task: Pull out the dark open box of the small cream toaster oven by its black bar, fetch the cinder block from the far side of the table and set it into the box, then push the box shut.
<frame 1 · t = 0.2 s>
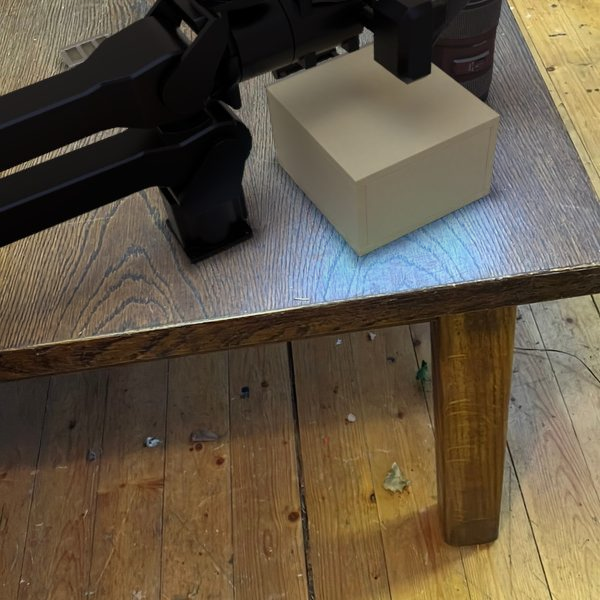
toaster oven: (379, 177, 71), on the table
food container: (408, 49, 85), on the table
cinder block: (94, 62, 89), on the table
camera lens: (449, 109, 77), on the table
dark open box: (350, 114, 70), point 4 cm above the table, slide at 0.5 cm
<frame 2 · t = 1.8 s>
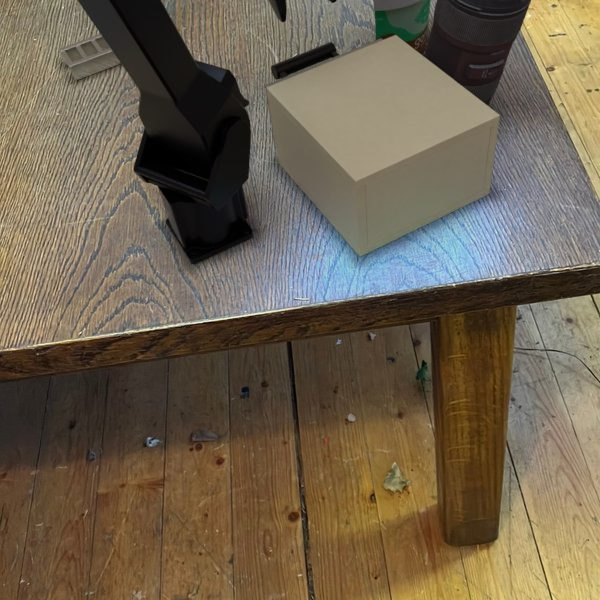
hand: (306, 10, 69), 12 cm above the table, tool pointing down, fingers open, 5 cm apart
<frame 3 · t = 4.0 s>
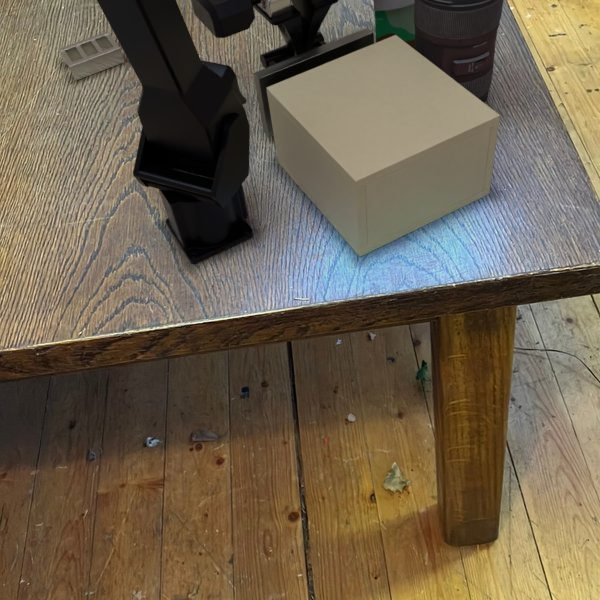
hand: (300, 60, 76), 5 cm above the table, tool pointing down, fingers closed, pressing on dark open box
dark open box: (337, 102, 72), point 4 cm above the table, slide at 3.0 cm, touching gripper
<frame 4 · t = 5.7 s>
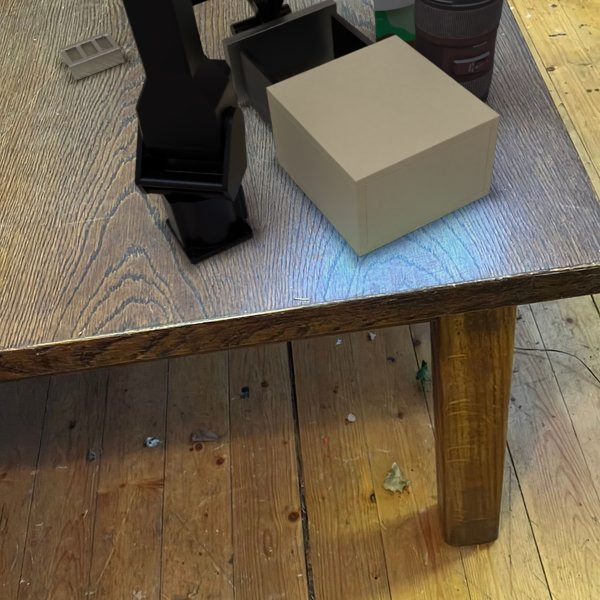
hand: (268, 30, 80), 5 cm above the table, tool pointing down, fingers closed
dark open box: (301, 68, 76), point 4 cm above the table, slide at 10.4 cm, touching gripper
everything else where it was.
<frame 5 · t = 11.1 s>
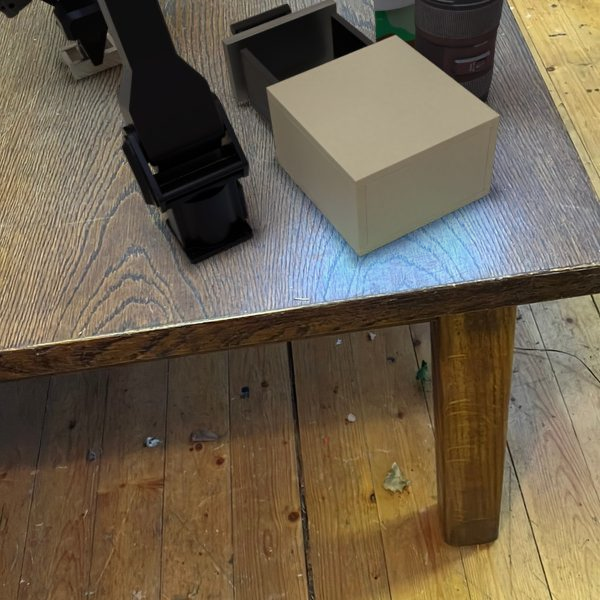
hand: (91, 55, 89), 1 cm above the table, tool pointing down, fingers closed on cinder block, 5 cm apart
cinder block: (94, 62, 89), on the table, touching gripper
dark open box: (301, 68, 76), point 4 cm above the table, slide at 10.4 cm
everything else where it was.
when the fingers open (6 cm above the table, at t = 17.3 s): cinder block drops 3 cm, resting on dark open box.
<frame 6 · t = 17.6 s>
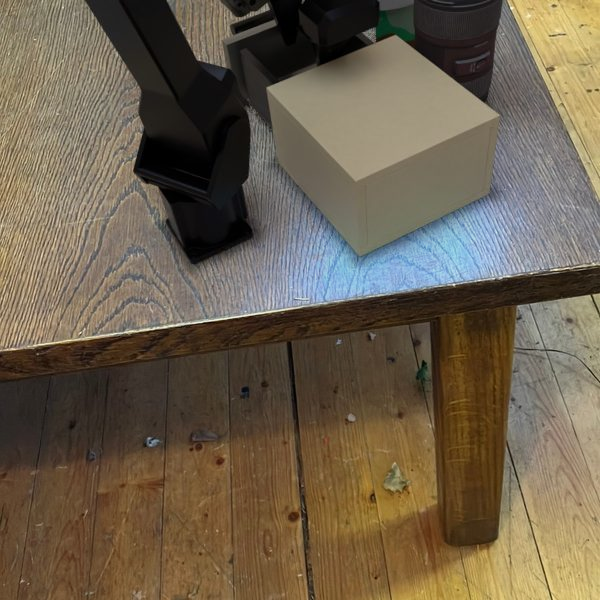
hand: (307, 61, 74), 6 cm above the table, tool pointing down, fingers open, 7 cm apart
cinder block: (312, 96, 77), point 2 cm above the table, touching dark open box
dark open box: (301, 68, 76), point 4 cm above the table, slide at 10.4 cm, touching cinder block
everything else where it was.
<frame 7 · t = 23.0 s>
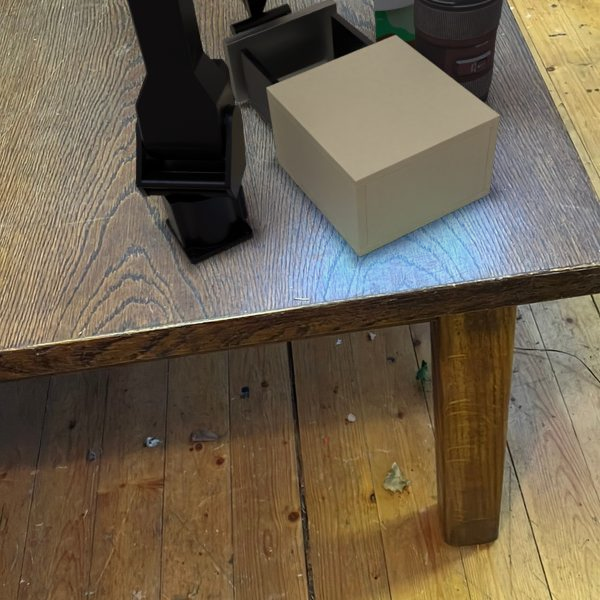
hand: (255, 18, 82), 5 cm above the table, tool pointing down, fingers closed
dark open box: (301, 68, 76), point 4 cm above the table, slide at 10.4 cm, touching gripper, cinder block
everything else where it was.
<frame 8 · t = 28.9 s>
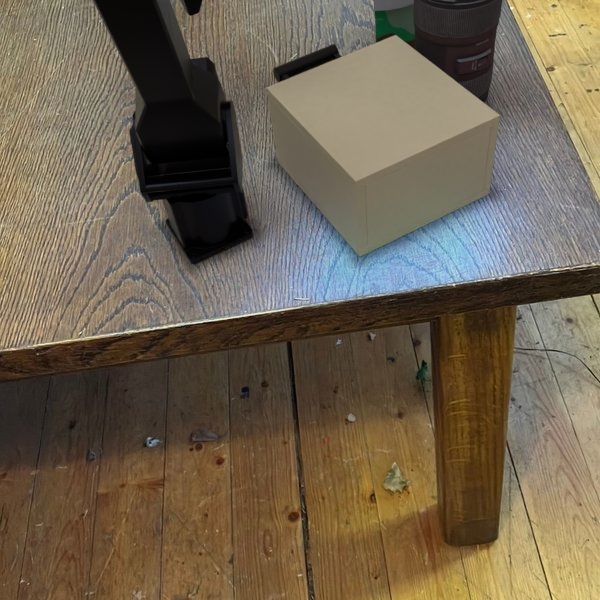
hand: (193, 13, 71), 12 cm above the table, tool pointing down, fingers closed
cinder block: (365, 147, 71), point 2 cm above the table, touching dark open box
dark open box: (353, 117, 70), point 4 cm above the table, slide at 0.0 cm, touching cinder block
everything else where it was.
at the end: dark open box pulled out 10.4 cm at the most during the clip, back to where it started at the end; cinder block inside the target area in the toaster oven (2.5 cm from its centre), point 2.1 cm above the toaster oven's base; dark open box slide at 0.0 cm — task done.
